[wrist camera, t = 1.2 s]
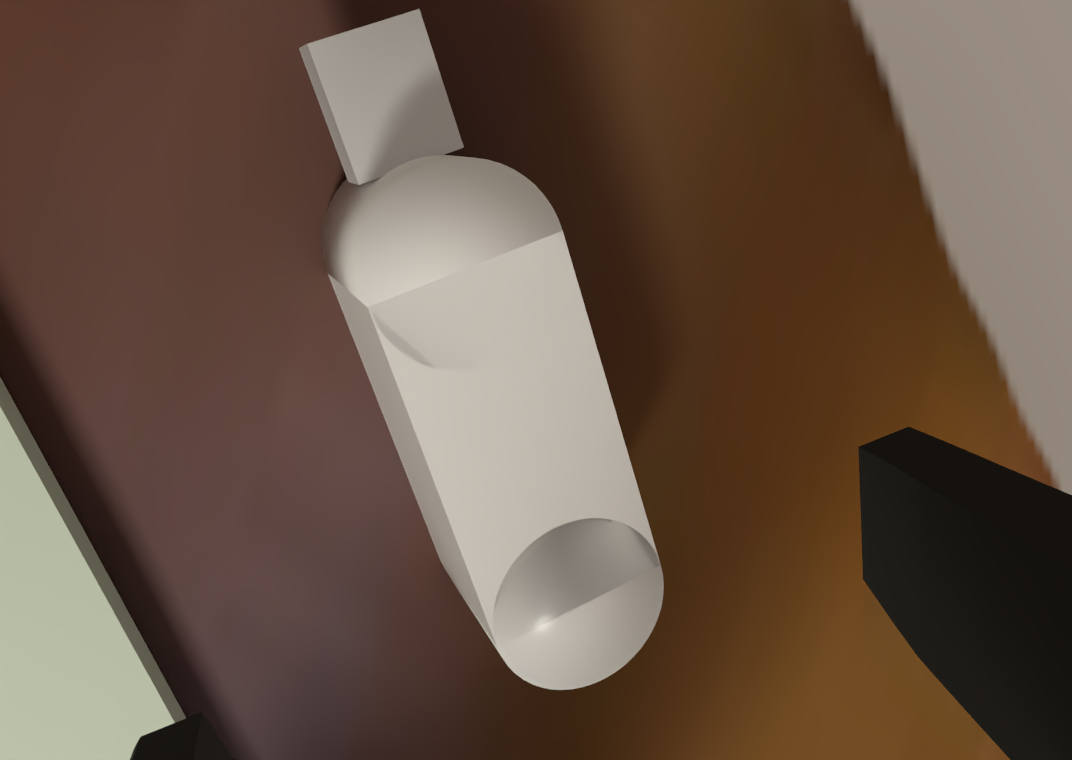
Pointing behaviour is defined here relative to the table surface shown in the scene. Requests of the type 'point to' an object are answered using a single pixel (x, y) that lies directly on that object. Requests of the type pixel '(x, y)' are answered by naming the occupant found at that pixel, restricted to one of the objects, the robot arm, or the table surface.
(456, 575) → the grey connector
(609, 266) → the table surface
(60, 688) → the sage board
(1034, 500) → the robot arm
